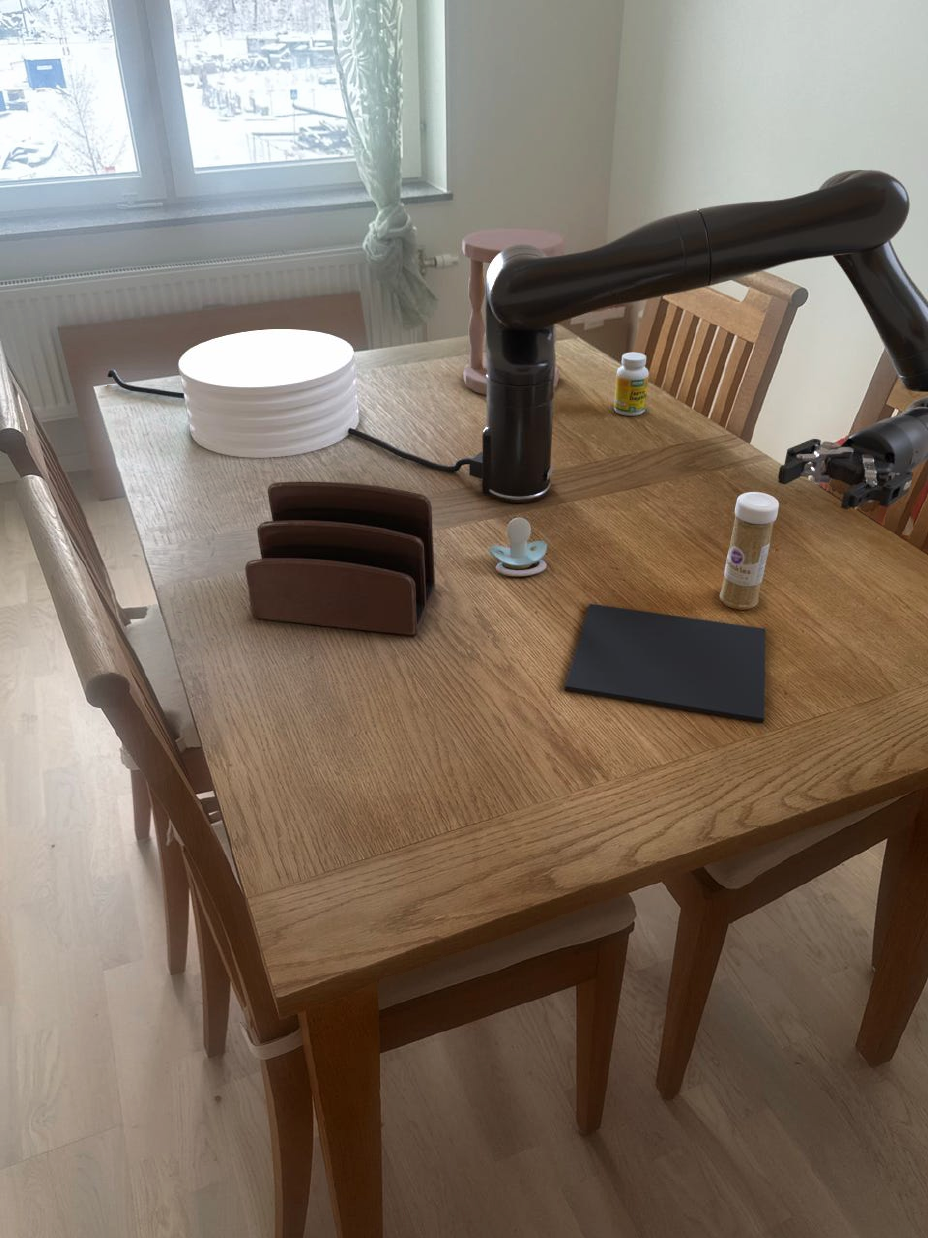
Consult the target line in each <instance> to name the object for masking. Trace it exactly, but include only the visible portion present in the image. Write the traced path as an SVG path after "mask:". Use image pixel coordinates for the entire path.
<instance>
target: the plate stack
mask: <svg viewBox="0 0 928 1238" xmlns="http://www.w3.org/2000/svg"><path fill="white" fill-rule="evenodd" d="M177 366H178V371H179V376H180V378H181V379H180V382H181V387H182V391H183V393H184V398H185V399H184V398H183V399H184V403H185V406H186V413H187V419H188V422H189V430H190V435H191V437H192V439H193V440H194V441H195V442H196V443H197V444H198V445H199V446H201V447H203V448H205V449H207V450H209V451H211V452H214V453H217V454H221V455H225V456H231V457H237V458H238V457H239V458H248V459H249V458H250V459H269V458H282V457H289V456H296V455H301V454H306V453H311V452H314V451H318V450H322V449H325V448H327V447H329V446H332V445H334V444H336V443H338V442H340V441H343V440H344V439H346V438H347V437H348V436H350V434H349V433H348V429H349V428H352V429H355V430H356V428H357V427H358V426H359V422H360V411H359V399H358V394H357V393H358V388H357V387H358V386H357V379H356V377H357V374H356V365H355V351H354V348H353V346H352V345H351V344H350V343H348V341H346V340H344V339H343V338H340V337H338V336H336V335H332V334H329V333H325V332H320V331H313V330H305V329H304V330H303V329H289V328H288V329H281V328H280V329H262V330H251V331H245V332H244V331H243V332H238V333H233V334H227V335H224V336H220V337H216V338H213V339H210V340H206V341H205V342H201V343H199V344H198V345H197V344H196V345H195V346H193V347H191V348H189V349H188V350H187V351H186V352H185V353H184V354H182V356H180V358H179V359H178V364H177Z"/></svg>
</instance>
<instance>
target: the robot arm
mask: <svg viewBox="0 0 928 1238" xmlns="http://www.w3.org/2000/svg"><path fill="white" fill-rule="evenodd" d="M910 203H911V202H910V196H909V193H908V191H907V189H906V187H905V185H903V183H902V182H901V181H900V180H899V179H898V178H896V177H894V176H893V175H891V174H890V173H887V172H885V171H881V170H875V169H852V170H846V171H842V172H839V173H836V174H835V175H832V176H831V177H829V178H827V180H825V181H824V182H823V183H822V184H821V185H820V187H819V188H818V189H816V190H814V191H810V192H807V193H804V194H801V195H797V196H792V197H789V198H783V199H776V200H764V201H763V200H762V201H746V202H737V203H736V202H735V203H727V204H719V205H712V206H707V207H701V208H697V209H693V210H689V211H684V212H680V213H676V214H671V215H667V216H664V217H661V218H658V219H655V220H652V221H650V222H648V223H645V224H642V225H641V226H639V227H637V228H634V229H633V230H631V231H629V232H627V233H626V234H623V235H622V236H620V237H618V238H616V239H614V240H612V241H609V242H608V243H606V244H604V245H601V246H598V247H595V248H592V249H587V250H583V251H578V252H572V253H567V254H563V255H560V256H553V257H548V256H547V255H546V254H545V253H544V252H543V251H541V250H540V249H538V248H536V247H534V246H530V245H525V244H520V245H514V246H511V247H508V248H506V249H504V250H503V251H502V252H500V253H499V254H498V255H497V256H496V257H495V259H494V260H493V261H492V263H490V265H489V267H488V269H489V270H488V269H487V270H488V273H487V272H486V279H485V352H486V353H485V357H486V358H487V395H486V426H485V428H484V430H483V432H482V437H481V438H482V439H481V440H482V445H481V447H482V451H480V452H479V453H477V454H476V455H474V456H472V457H463V458H460V459H458V460H457V461H456V462H455V464H454V465H443V464H439V463H436V462H434V461H430V460H428V459H425V458H422V457H420V456H417V455H415V454H412V453H409V452H407V451H404V450H402V449H399V448H397V447H395V446H393V445H391V444H390V443H388V442H385V441H383V440H382V439H378V438H376V437H375V436H371V435H369V434H367V433H365V432H362V431H359V430H357V429H356V428H355V429H352V428H349V429H348V433H349V435H351V436H353V437H356V438H358V439H361V440H364V441H366V442H368V443H370V444H374V445H375V446H378V447H380V448H382V449H383V450H386V451H388V452H390V453H392V454H393V455H395V456H398V457H400V458H402V459H405V460H408V461H410V462H413V463H416V464H418V465H421V466H423V467H425V468H428V469H432V470H436V471H441V472H446V473H454V472H458V471H460V470H461V468H462V466H464V465H469V466H468V470H469V471H468V472H469V473H468V475H469V476H470V477H474V478H478V479H481V481H482V483H481V484H482V485H481V489H482V490H481V494H482V495H485V496H490V497H491V498H493V499H495V500H498V501H502V502H505V503H511V504H514V503H515V504H523V503H524V504H525V503H532V502H536V501H539V500H541V499H544V498H545V497H547V496H548V494H549V493H550V491H551V475H552V473H553V471H554V463H552V442H553V441H552V440H553V423H554V420H553V419H554V401H555V387H554V382H555V366H556V347H555V346H556V343H555V344H554V324H555V325H557V324H559V323H562V322H565V321H568V320H571V319H574V318H576V317H580V316H582V315H585V314H588V313H592V312H595V311H598V310H602V309H606V308H609V307H615V306H620V305H621V306H622V305H627V304H631V303H637V302H642V301H646V300H652V299H655V298H656V299H657V298H660V297H665V296H670V295H676V294H681V293H686V292H689V291H695V290H699V289H704V288H707V287H711V286H715V285H718V284H722V283H726V282H729V281H732V280H736V279H740V278H743V277H747V276H750V275H754V274H757V273H760V272H764V271H766V270H769V269H773V268H776V267H779V266H782V265H786V264H789V263H794V262H799V261H806V260H811V259H819V258H824V257H833V259H835V261H836V263H837V264H838V265H839V266H840V268H841V269H842V272H843V273H844V274H845V275H846V277H847V279H848V280H849V282H850V284H851V285H852V287H853V288H854V290H855V292H856V293H857V296H858V297H859V299H860V300H861V302H862V304H863V306H864V308H865V310H866V311H867V314H868V315H869V318H870V319H871V321H872V323H873V325H874V327H875V329H876V332H877V333H878V337H879V338H880V340H881V342H882V344H883V346H884V349H885V351H886V353H887V355H888V358H889V360H890V362H891V364H892V366H893V368H894V370H895V372H896V374H897V376H898V378H899V381H900V382H901V384H902V386H903V387H904V388H905V389H907V390H908V391H910V392H916V393H917V392H918V393H928V300H927V298H926V297H925V295H924V294H923V293H922V291H921V290H920V288H919V287H918V286H917V285H916V284H915V282H914V281H913V279H912V278H911V276H910V275H909V274H908V272H907V270H906V269H905V268H904V266H903V264H902V262H901V260H900V258H899V257H898V255H897V253H896V251H895V248H894V246H893V244H892V241H891V240H892V239H893V238H895V236H896V235H897V234H898V233H899V232H900V230H901V229H902V228H903V226H904V225H905V223H906V221H907V218H908V215H909V213H910ZM107 378H113V380H114V381H115V383H116V384H117V386H119V387H120V388H122V389H124V390H127V391H131V392H134V393H135V392H137V393H142V394H151V395H159V396H164V397H170V398H176V399H177V398H178V399H184V400H185V398H184V392H180V391H173V390H166V389H159V388H153V387H145V386H137V385H132V384H129V383H126V382H124V381H122V379H121V378H120V376H119V374H118V372H117V371H116V370H115V369H110V370H109V371H108V373H107ZM821 444H822V440H821V439H818V438H811V439H809V440H806V441H804V442H801V443H798V444H797V445H794V446H791V447H789V448H787V450H786V453H785V455H786V456H785V460H784V463H783V464H782V465H780V467H779V471H778V476H777V479H778V483H779V484H781V485H784V486H785V485H788V484H789V483H792V482H793V481H795V480H797V479H799V478H801V477H812V478H813V479H814V480H836V481H840V482H842V483H844V484H846V485H848V486H853V487H850V488H849V489H847V490H845V492H844V493H843V496H842V500H841V503H840V507H841V508H842V509H844V510H847V511H848V510H850V509H851V508H853V509H854V508H858V507H859V506H861V505H863V504H865V503H867V504H871V503H873V502H874V501H877V502H878V505H879V506H880V507H890V506H891V505H893V504H894V503H896V502H897V501H898V500H900V499H901V498H902V497H904V496H906V495H907V494H909V491H910V489H911V484H912V482H913V479H914V478H913V477H914V472H913V470H914V469H916V468H917V467H918V466H919V465H920V464H922V463H923V462H925V461H927V460H928V396H924V397H921V398H918V399H916V400H914V401H912V402H911V403H910V404H909V405H908V406H907V407H906V408H905V409H904V411H902V412H900V413H898V414H896V415H894V416H891V417H887V418H883V419H881V420H880V421H877V422H875V423H873V424H871V425H869V426H867V427H865V428H862V429H860V430H859V431H857V432H855V433H853V434H851V435H850V436H849V437H848V438H847V439H846V440H845V441H844V442H843V443H842V444H841V445H839V446H836V447H835V446H834V447H830V448H825V447H822V446H821ZM551 463H552V465H551ZM810 463H811V466H810V467H807V468H806V467H805V466H806V465H807V464H810ZM823 463H824V468H825V470H822V466H823Z"/></svg>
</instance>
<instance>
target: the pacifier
mask: <svg viewBox="0 0 928 1238" xmlns="http://www.w3.org/2000/svg"><path fill="white" fill-rule="evenodd" d="M531 528H532V527H531V525H530V522H529V521H528V520H526V519H525V518H523V517H515V518H513V519H512V520H510V522H509V523H508V525H507V528H506V534H507V537H508V539H509V547H506V546H502V545H490V546H489V547H488V548H489V552H490V554H491V555H492V556H493V557H494V558H495V559H496V560H497V561H498V563H497V565H496V566H495V570H496V571H497V572H498V573H499V574H501V575H505V576H508V577H529V576H534V575H537V574H540V573H542V572H543V571H545V570H546V568H547V563H546V561H545V560H543V558H544V556H545V555H546V553H547V551H548V545H547V542H546V541H544V540H535V541H531V542H529V543H528V540H529V539H530V536H531V533H532V532H531V531H532V529H531ZM533 549H534V550H533ZM533 564H536V566H535V567H532V568H529V567H531V566H532V565H533ZM527 568H528V569H527Z"/></svg>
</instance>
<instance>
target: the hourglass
mask: <svg viewBox="0 0 928 1238" xmlns="http://www.w3.org/2000/svg"><path fill="white" fill-rule="evenodd" d="M520 244H525V245H530V246H534V247H536V248H538V249H540V250H541V251H543V252H544V253H545V254H546V255H547V256H548V257H553V256H560V255H565V253H566V249H567V247H566V246H567V245H566V244H567V241H566V239H565V238H564V237H563V236H562V235H561V234H558V233H555V232H553V231H549V230H543V229H538V228H537V229H535V228H526V227H525V228H523V227H503V228H493V229H492V228H491V229H485V230H479V231H475V232H473V233H468V234H467V235H466V236H465V237H464V238H463V239H462V244H461V245H462V246H461V247H462V248H461V249H462V252H463V254H464V256H465V257H466V258H469V278H468V286H467V295H468V300H469V303H470V307H471V314H470V318H469V322H468V328H467V329H468V330H467V331H468V332H467V333H468V340H469V350H470V351H469V353H470V354H469V359H470V360H469V363H467V364H466V366H465V368H464V369H463V382H464V384H465V386H466V387H467V388H469V389H470V390H471V391H472V392H475V393H478V394H480V395H481V394H482V395H484V396H487V358H486V356H484V346H483V345H484V339H485V335H486V325H485V321H484V318H483V315H482V308H483V304H484V300H485V297H486V284H485V280H484V279H485V278H484V263H486V264H491V263H492V261H493V260H494V259H495V257H496V256H497V255H498V254H499V253H500V252H502V251H503V250H504V249H506V248H508V247H511V246H514V245H520ZM488 270H489V268H488V269H487V270H486V274H487V273H488ZM556 325H557V324H554V344H555V345H556V340H557V326H556ZM559 378H560V370H559V368H558V367H557V366H556V365H555V382H554V388H556V387H557V385H558V382H559V380H560V379H559Z"/></svg>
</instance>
